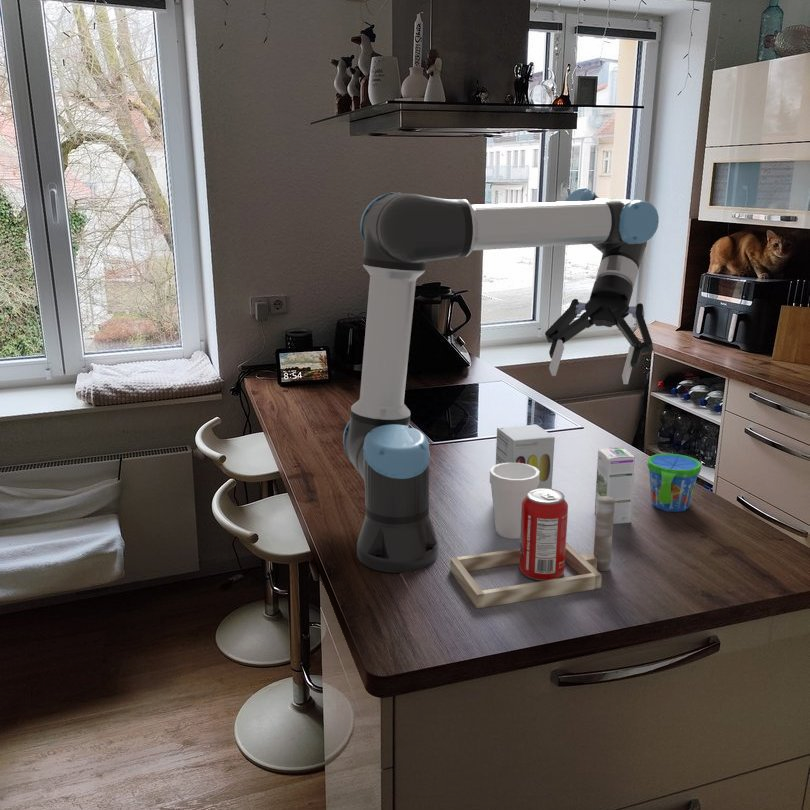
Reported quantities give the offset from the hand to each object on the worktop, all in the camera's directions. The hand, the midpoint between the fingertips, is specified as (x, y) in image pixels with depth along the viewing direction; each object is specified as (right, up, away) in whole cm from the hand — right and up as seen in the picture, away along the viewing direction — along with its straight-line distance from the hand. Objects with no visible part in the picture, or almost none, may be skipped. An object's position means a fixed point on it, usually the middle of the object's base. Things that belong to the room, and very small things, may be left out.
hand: (587, 376), depth 142 cm
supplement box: (-9, -27, +21) cm, 35 cm away
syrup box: (+9, -29, +15) cm, 34 cm away
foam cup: (-13, -31, +9) cm, 34 cm away
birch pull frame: (-11, -35, -8) cm, 38 cm away
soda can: (-10, -35, -7) cm, 37 cm away
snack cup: (+22, -27, +21) cm, 41 cm away
